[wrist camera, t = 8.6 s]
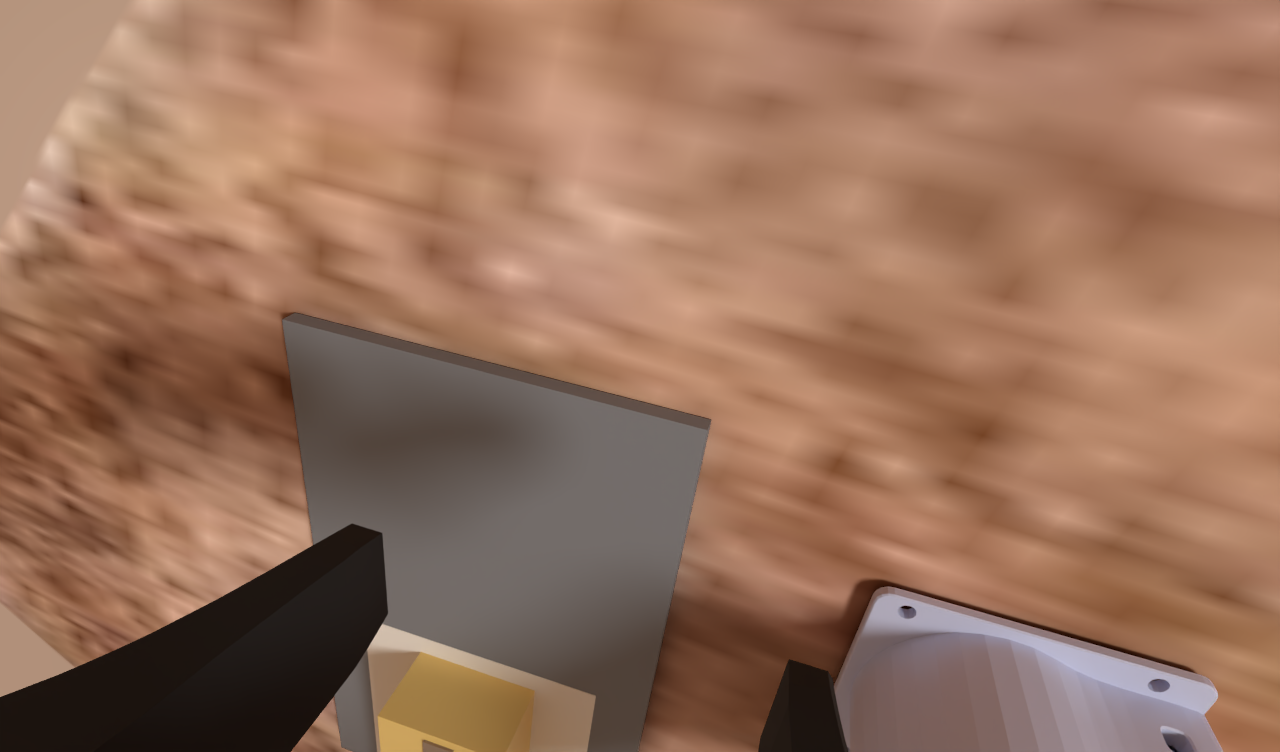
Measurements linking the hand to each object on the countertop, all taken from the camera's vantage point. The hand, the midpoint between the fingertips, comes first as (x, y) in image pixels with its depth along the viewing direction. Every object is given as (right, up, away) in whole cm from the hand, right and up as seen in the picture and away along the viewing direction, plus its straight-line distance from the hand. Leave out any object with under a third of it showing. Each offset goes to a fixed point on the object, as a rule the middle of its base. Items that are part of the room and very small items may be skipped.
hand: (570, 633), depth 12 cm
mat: (-5, -5, +15) cm, 17 cm away
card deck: (-6, -11, +18) cm, 22 cm away
